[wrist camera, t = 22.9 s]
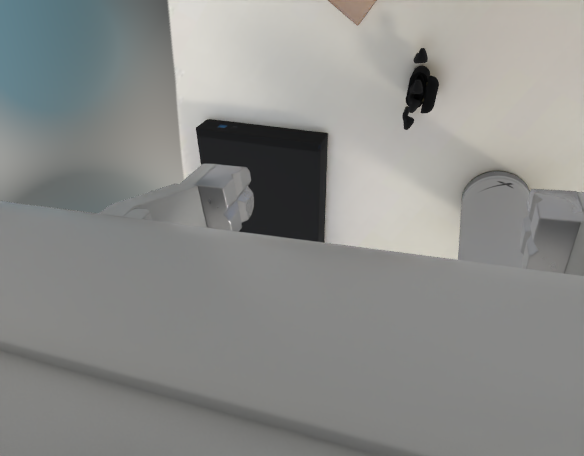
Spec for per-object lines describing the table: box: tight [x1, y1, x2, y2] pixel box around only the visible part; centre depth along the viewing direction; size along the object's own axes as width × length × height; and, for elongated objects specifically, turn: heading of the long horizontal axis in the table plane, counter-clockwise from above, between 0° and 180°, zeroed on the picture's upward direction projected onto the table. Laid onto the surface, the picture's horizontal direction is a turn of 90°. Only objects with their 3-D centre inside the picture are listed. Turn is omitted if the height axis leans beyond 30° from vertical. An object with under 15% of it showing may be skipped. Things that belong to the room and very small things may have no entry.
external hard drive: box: [196, 119, 328, 243], centre depth 54 cm, size 14×23×3 cm, turn 1°
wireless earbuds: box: [403, 48, 439, 130], centre depth 39 cm, size 7×2×5 cm, turn 177°
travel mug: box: [458, 171, 530, 268], centre depth 37 cm, size 6×7×20 cm
